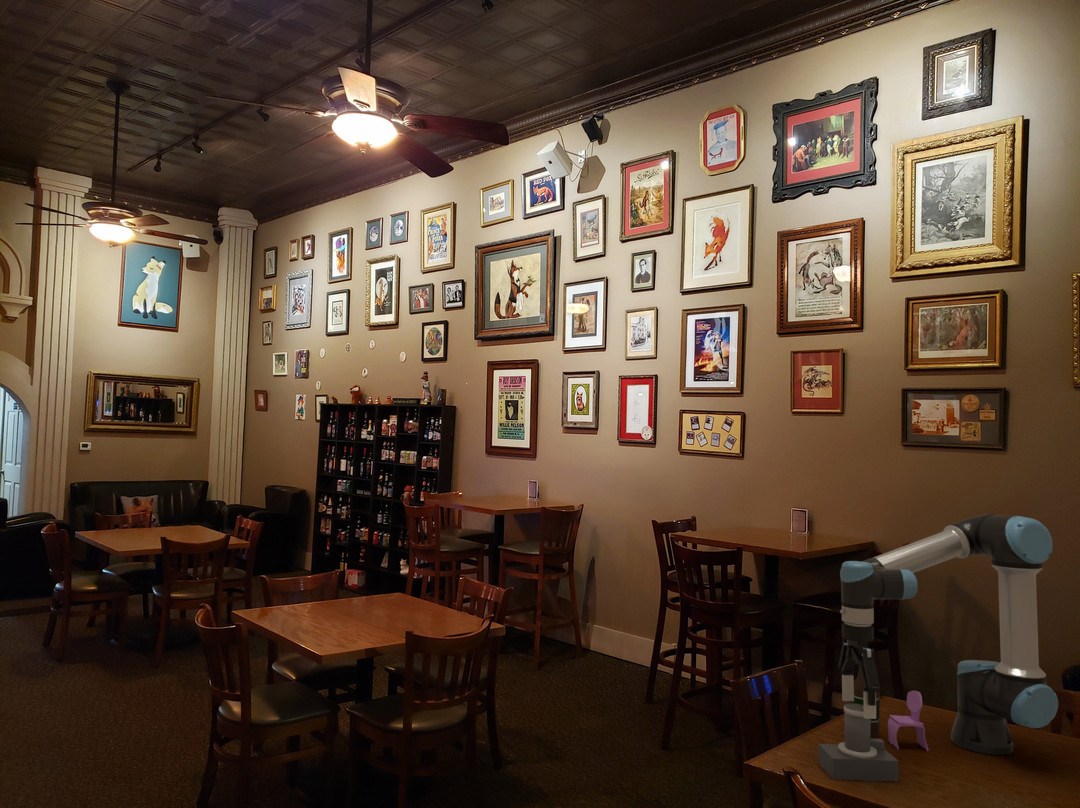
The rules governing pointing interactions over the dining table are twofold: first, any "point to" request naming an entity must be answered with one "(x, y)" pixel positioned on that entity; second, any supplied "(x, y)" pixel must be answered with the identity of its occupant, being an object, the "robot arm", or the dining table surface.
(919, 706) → the toy chair
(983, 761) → the dining table surface
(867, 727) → the lens
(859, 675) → the beer bottle
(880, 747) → the camera body block
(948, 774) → the dining table surface
